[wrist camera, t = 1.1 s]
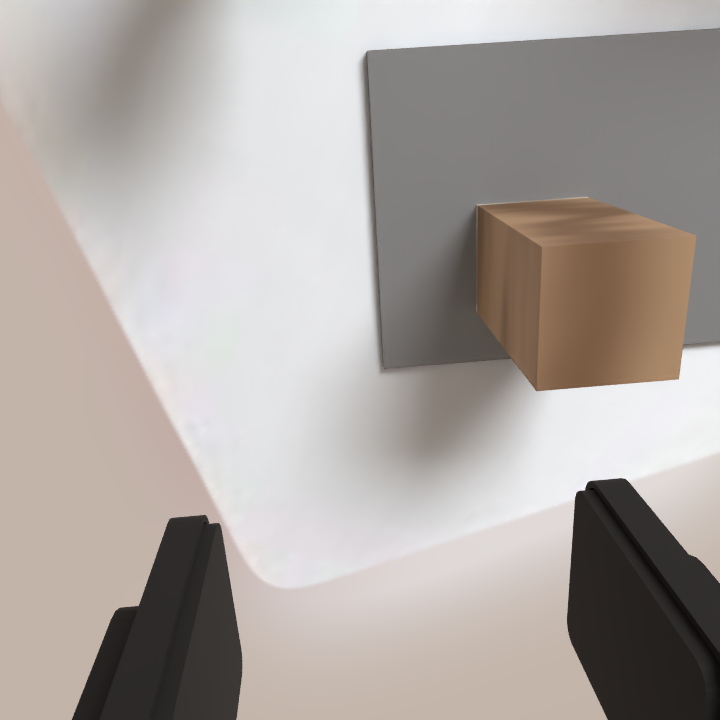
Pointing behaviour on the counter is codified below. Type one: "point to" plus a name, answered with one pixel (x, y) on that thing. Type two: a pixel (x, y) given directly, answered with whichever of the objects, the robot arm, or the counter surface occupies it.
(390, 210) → the mat
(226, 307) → the counter surface
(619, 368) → the block
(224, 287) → the counter surface
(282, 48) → the counter surface
